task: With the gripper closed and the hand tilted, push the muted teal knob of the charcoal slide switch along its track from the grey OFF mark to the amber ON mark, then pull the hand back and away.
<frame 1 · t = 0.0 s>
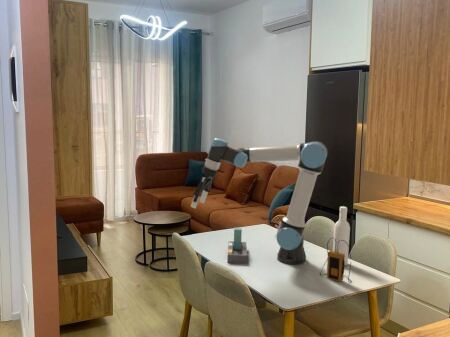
hand: (197, 205, 231), 28 cm above the table, tool tilted 20°, fingers open, 13 cm apart
lily: (280, 239, 273), on the table
switch knob: (237, 238, 243), point 8 cm above the table, slide at 0.0 cm
switch housing: (237, 255, 238), on the table
bottle: (339, 263, 231), on the table
multimeter: (338, 278, 210), on the table
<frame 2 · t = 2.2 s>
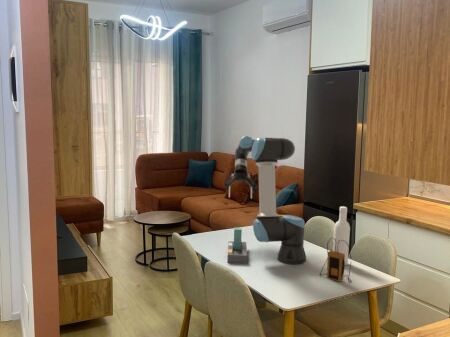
hand: (240, 196, 259), 28 cm above the table, tool tilted 45°, fingers open, 12 cm apart
nothing on the table moved.
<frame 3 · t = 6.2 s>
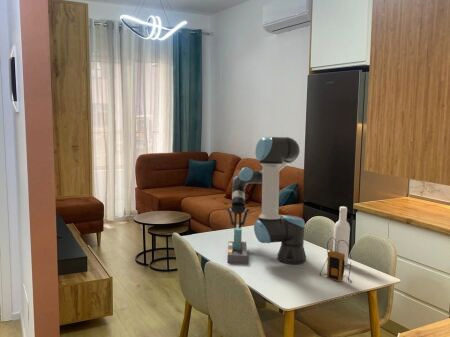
hand: (237, 235, 245), 9 cm above the table, tool tilted 45°, fingers closed
switch knob: (237, 238, 242), point 8 cm above the table, slide at 0.9 cm
everything else where it was.
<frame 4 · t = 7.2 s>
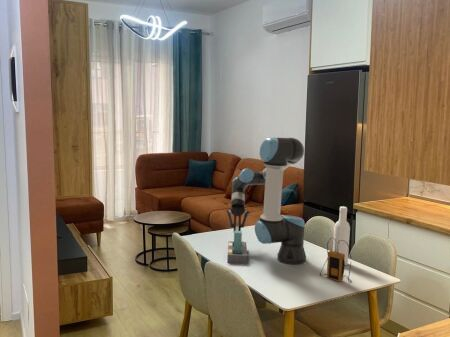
hand: (236, 237, 240), 9 cm above the table, tool tilted 45°, fingers closed
switch knob: (237, 241, 236), point 8 cm above the table, slide at 6.4 cm, touching gripper
everything else where it was.
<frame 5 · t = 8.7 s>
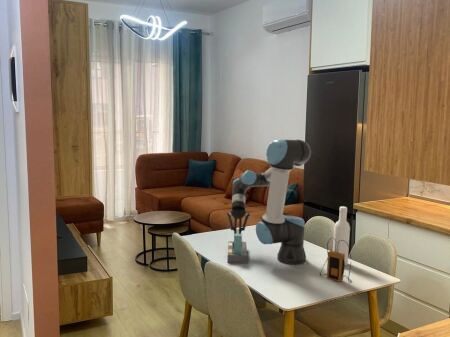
hand: (237, 241, 234), 9 cm above the table, tool tilted 45°, fingers closed
switch knob: (237, 245, 231), point 8 cm above the table, slide at 12.2 cm, touching gripper
everything else where it was.
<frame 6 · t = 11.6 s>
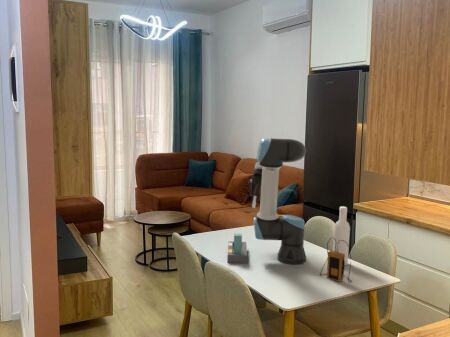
hand: (253, 207, 254), 23 cm above the table, tool tilted 35°, fingers closed
switch knob: (237, 244, 231), point 8 cm above the table, slide at 12.0 cm
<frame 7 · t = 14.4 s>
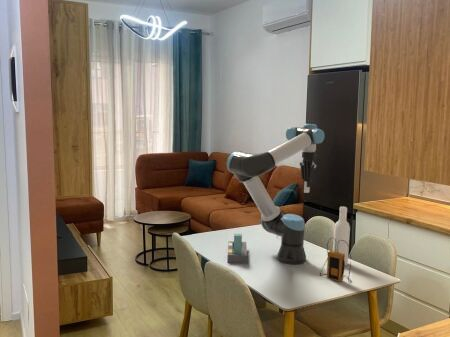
hand: (306, 192, 253), 32 cm above the table, tool pointing down, fingers closed
at the end: switch knob slide at 12.0 cm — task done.
